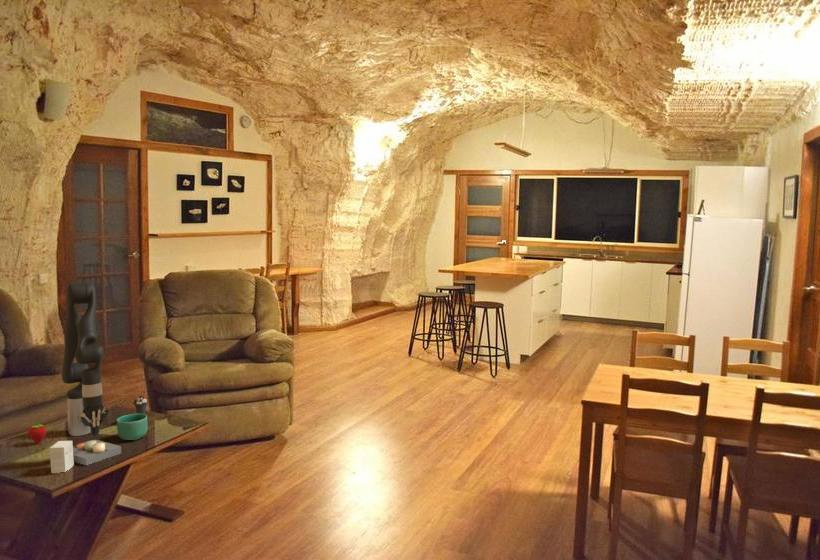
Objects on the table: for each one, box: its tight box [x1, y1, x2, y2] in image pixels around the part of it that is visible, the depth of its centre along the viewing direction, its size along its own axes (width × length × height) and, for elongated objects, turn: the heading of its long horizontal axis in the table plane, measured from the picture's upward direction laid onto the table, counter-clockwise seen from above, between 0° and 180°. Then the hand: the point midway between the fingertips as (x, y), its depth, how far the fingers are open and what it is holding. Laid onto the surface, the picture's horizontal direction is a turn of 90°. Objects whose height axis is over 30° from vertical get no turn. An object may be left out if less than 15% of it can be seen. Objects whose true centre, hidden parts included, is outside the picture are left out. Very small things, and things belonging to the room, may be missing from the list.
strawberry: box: [27, 423, 48, 445], centre depth 289 cm, size 6×8×10 cm
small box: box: [49, 440, 75, 474], centre depth 259 cm, size 8×6×10 cm
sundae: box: [132, 391, 149, 415], centre depth 318 cm, size 7×7×15 cm
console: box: [73, 439, 122, 466], centre depth 274 cm, size 17×16×3 cm
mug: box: [116, 413, 149, 441], centre depth 297 cm, size 17×13×10 cm
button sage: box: [83, 439, 97, 452], centre depth 274 cm, size 5×5×4 cm
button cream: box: [93, 443, 105, 454], centre depth 271 cm, size 5×5×4 cm
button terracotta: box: [76, 442, 85, 449], centre depth 277 cm, size 5×5×4 cm
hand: (95, 435), depth 271 cm, fingers closed
